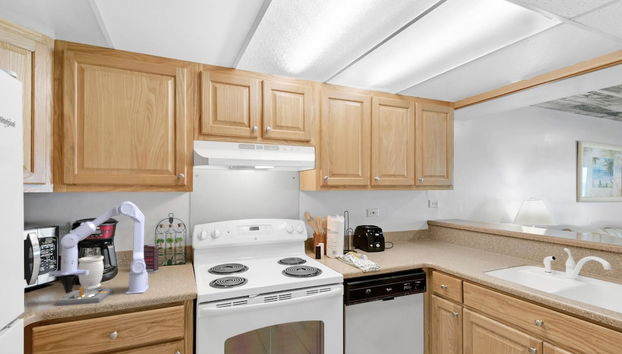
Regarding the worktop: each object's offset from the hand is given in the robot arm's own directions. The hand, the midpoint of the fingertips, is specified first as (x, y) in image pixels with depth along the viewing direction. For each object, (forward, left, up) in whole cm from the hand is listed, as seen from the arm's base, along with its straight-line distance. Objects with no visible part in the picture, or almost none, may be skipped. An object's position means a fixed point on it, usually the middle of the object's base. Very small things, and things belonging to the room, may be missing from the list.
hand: (68, 292), depth 132 cm
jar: (-20, 0, -5) cm, 20 cm away
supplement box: (-44, +20, -5) cm, 48 cm away
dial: (-3, +6, -3) cm, 7 cm away
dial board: (-3, +6, -4) cm, 8 cm away
